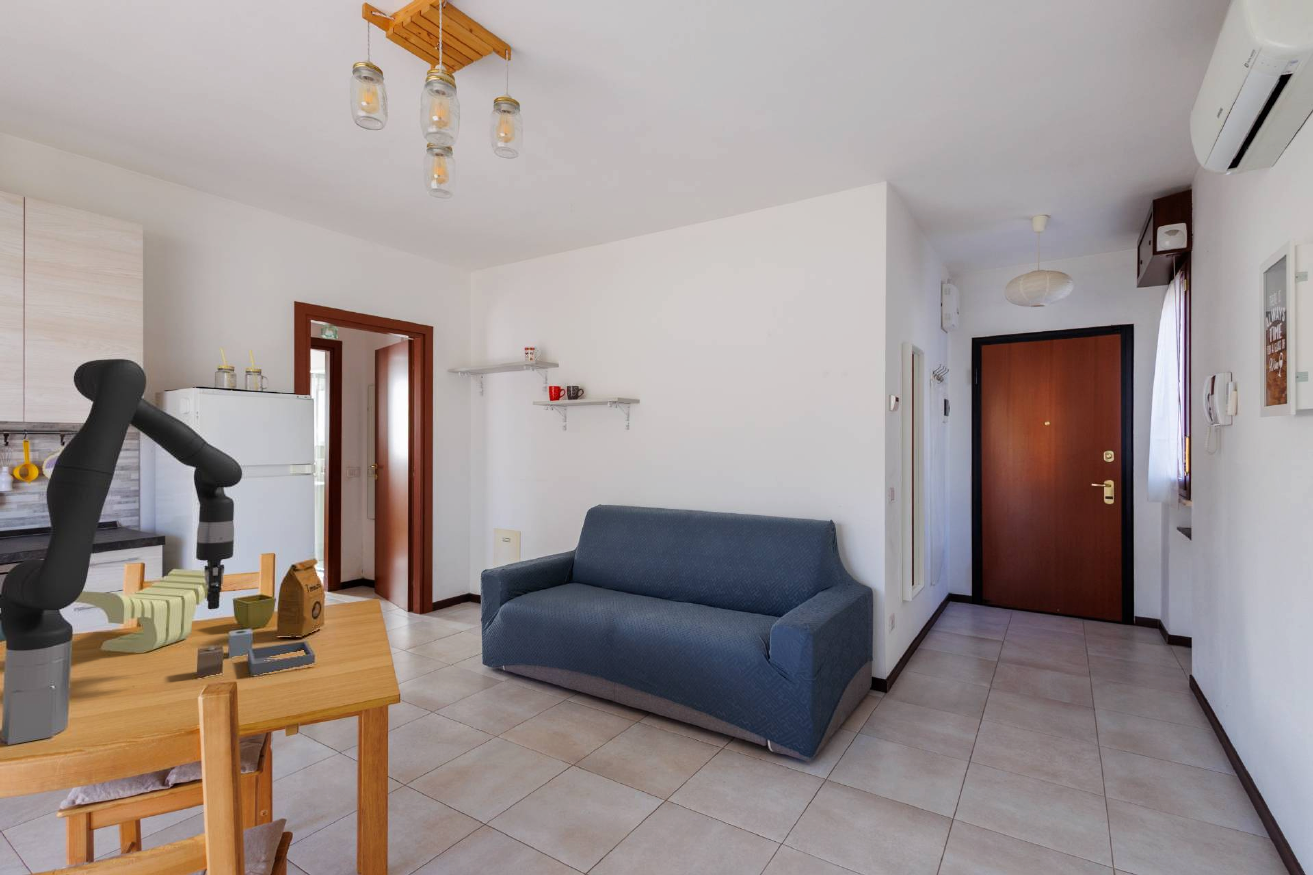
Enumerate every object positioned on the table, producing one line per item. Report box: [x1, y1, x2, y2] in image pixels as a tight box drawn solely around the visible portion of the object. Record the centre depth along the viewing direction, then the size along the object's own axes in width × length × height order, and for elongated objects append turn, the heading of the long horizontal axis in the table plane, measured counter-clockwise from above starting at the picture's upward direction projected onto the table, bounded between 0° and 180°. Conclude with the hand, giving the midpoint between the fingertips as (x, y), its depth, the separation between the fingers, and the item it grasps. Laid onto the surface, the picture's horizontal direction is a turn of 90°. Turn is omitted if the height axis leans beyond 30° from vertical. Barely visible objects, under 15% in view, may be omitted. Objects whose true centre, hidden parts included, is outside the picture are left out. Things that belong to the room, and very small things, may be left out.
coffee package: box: [276, 558, 326, 638], centre depth 188 cm, size 10×12×22 cm
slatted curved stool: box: [73, 568, 218, 654], centre depth 174 cm, size 30×16×18 cm, turn 173°
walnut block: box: [196, 644, 224, 679], centre depth 154 cm, size 5×5×6 cm
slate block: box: [227, 628, 254, 659], centre depth 169 cm, size 5×5×6 cm
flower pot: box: [232, 593, 277, 629], centre depth 193 cm, size 9×9×9 cm
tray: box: [246, 640, 316, 676], centre depth 162 cm, size 14×14×3 cm
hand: (212, 604), depth 154 cm, fingers open, 8 cm apart
